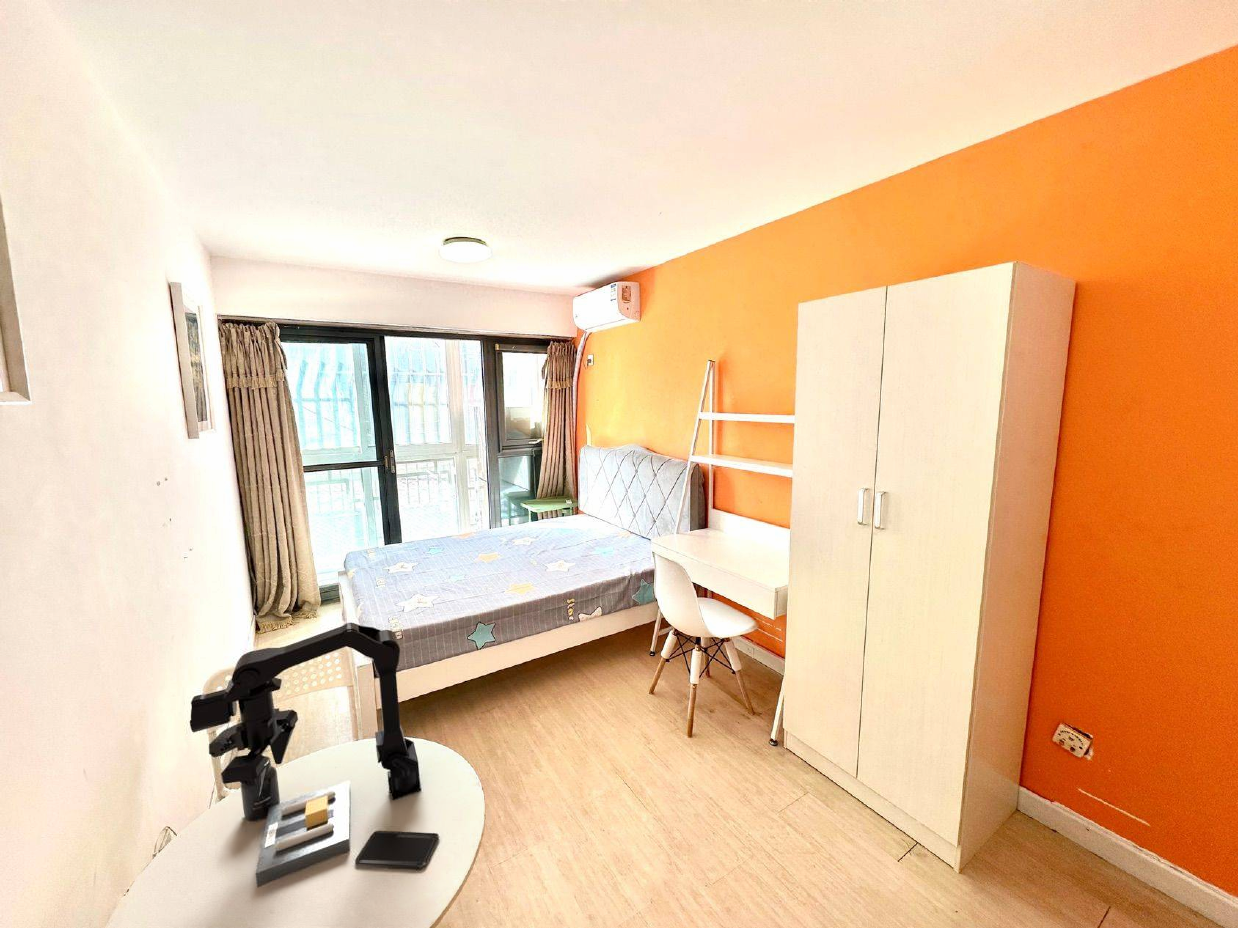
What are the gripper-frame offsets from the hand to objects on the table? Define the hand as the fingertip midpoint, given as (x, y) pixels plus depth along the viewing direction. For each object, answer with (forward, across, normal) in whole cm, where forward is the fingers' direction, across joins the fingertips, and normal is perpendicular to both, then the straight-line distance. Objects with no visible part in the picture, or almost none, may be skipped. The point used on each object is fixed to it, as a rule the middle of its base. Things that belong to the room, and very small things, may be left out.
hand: (268, 779), depth 107 cm
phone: (+15, +9, +27) cm, 32 cm away
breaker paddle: (+11, 0, +9) cm, 14 cm away
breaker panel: (+14, +1, +7) cm, 15 cm away
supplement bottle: (+14, -8, -7) cm, 17 cm away
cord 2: (+11, -4, +5) cm, 13 cm away
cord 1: (+11, +6, +8) cm, 15 cm away
